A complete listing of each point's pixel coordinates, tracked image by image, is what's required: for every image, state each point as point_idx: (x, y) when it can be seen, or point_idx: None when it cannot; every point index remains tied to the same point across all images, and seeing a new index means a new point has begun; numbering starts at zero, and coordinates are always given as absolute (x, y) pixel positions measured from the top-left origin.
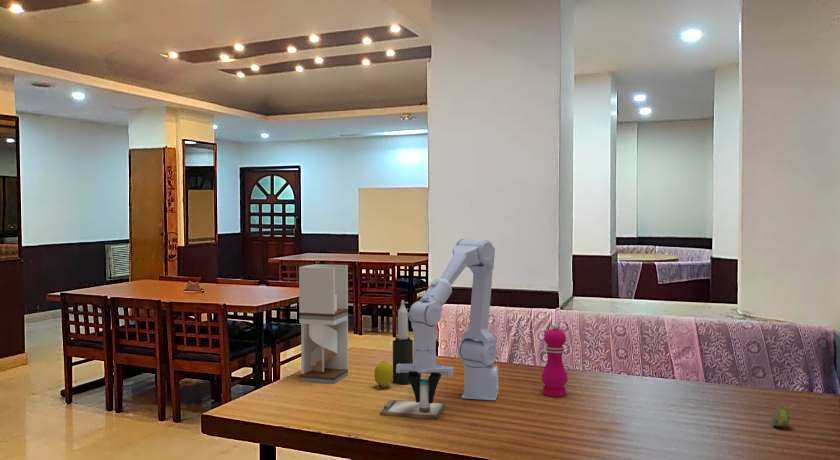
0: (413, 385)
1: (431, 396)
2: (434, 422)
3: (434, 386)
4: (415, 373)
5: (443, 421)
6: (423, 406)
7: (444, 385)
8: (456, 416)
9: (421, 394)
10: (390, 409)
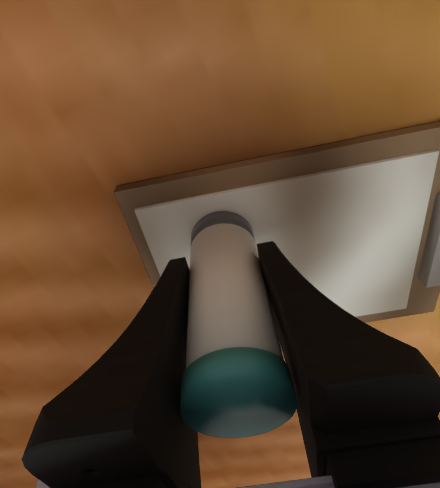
0: (324, 315)
1: (158, 286)
2: (103, 129)
3: (106, 352)
4: (355, 465)
5: (68, 168)
6: (218, 230)
7: (273, 461)
8: (61, 260)
9: (239, 281)
10: (424, 186)
